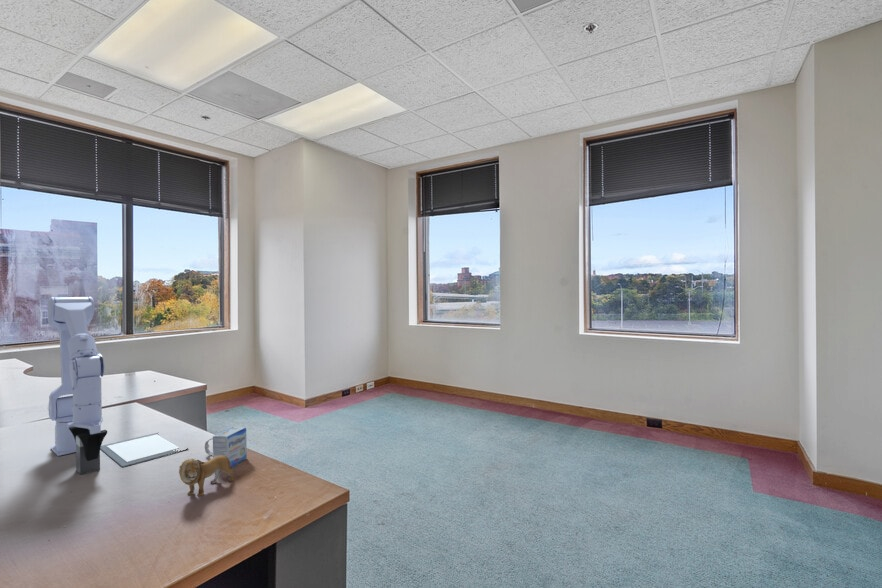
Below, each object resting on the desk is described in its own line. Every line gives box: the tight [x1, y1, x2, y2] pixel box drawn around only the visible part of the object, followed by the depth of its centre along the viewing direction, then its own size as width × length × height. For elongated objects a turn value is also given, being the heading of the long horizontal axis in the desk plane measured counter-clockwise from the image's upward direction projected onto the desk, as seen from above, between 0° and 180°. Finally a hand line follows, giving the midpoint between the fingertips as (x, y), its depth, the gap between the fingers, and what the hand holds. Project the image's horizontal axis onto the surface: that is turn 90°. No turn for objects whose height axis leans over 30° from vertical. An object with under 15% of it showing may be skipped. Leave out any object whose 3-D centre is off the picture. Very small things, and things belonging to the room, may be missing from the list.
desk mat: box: [100, 432, 182, 468], centre depth 126 cm, size 22×16×1 cm
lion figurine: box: [178, 455, 235, 497], centre depth 102 cm, size 15×5×9 cm, turn 164°
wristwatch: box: [204, 437, 213, 457], centre depth 122 cm, size 3×5×5 cm, turn 89°
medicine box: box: [212, 426, 248, 469], centre depth 116 cm, size 8×4×9 cm, turn 168°
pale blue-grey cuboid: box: [75, 435, 101, 476], centre depth 112 cm, size 4×4×9 cm
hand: (88, 455), depth 112 cm, fingers open, 7 cm apart
